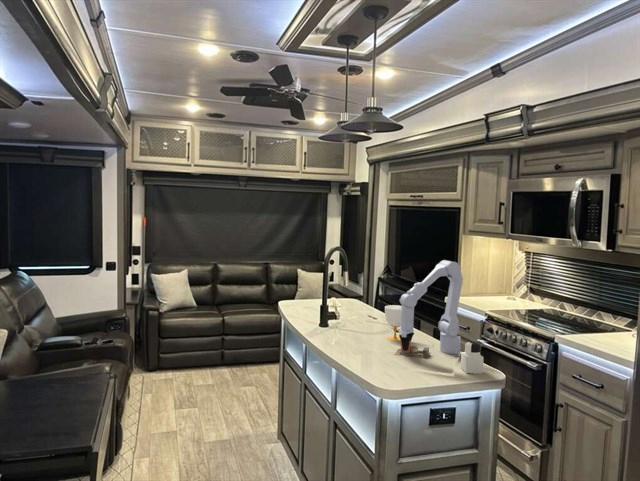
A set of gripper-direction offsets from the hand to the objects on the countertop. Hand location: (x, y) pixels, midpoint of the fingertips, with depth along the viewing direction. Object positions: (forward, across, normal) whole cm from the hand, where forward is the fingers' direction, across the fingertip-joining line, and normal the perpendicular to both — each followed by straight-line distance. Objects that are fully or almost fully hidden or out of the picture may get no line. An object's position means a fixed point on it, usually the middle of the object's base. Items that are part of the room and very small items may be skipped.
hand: (406, 349), depth 218 cm
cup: (+3, -26, -10) cm, 28 cm away
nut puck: (+2, 0, +4) cm, 4 cm away
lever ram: (+2, 0, 0) cm, 2 cm away
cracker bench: (+3, 0, +3) cm, 4 cm away
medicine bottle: (+3, +10, +30) cm, 31 cm away
